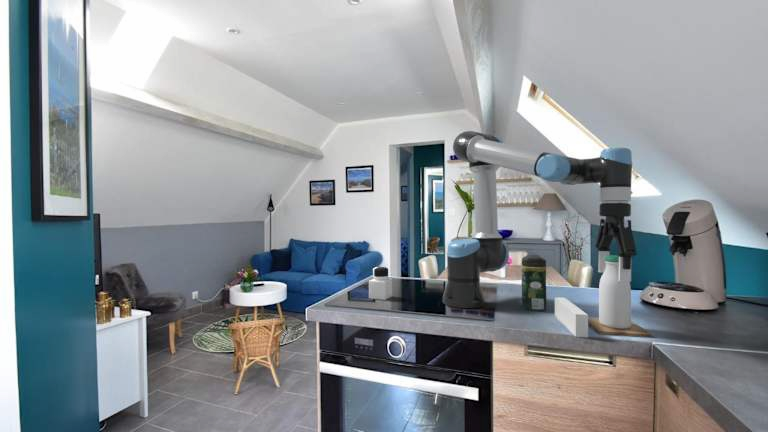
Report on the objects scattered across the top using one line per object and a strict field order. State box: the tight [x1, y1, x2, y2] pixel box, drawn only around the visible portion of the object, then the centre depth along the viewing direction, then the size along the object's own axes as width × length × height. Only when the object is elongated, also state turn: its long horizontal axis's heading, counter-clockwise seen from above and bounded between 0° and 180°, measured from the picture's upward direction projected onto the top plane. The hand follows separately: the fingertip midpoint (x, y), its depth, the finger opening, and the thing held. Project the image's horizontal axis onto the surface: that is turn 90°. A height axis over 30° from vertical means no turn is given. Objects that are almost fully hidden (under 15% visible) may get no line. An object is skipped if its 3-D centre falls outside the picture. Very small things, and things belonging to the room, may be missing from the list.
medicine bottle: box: [368, 266, 393, 301], centre depth 138 cm, size 7×7×12 cm
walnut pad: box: [588, 317, 655, 338], centre depth 100 cm, size 13×13×1 cm
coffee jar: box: [521, 254, 547, 312], centre depth 122 cm, size 10×8×19 cm
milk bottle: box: [598, 254, 632, 329], centre depth 100 cm, size 8×8×20 cm
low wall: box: [554, 296, 589, 338], centre depth 103 cm, size 3×20×6 cm, turn 168°
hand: (613, 276), depth 100 cm, fingers open, 13 cm apart
